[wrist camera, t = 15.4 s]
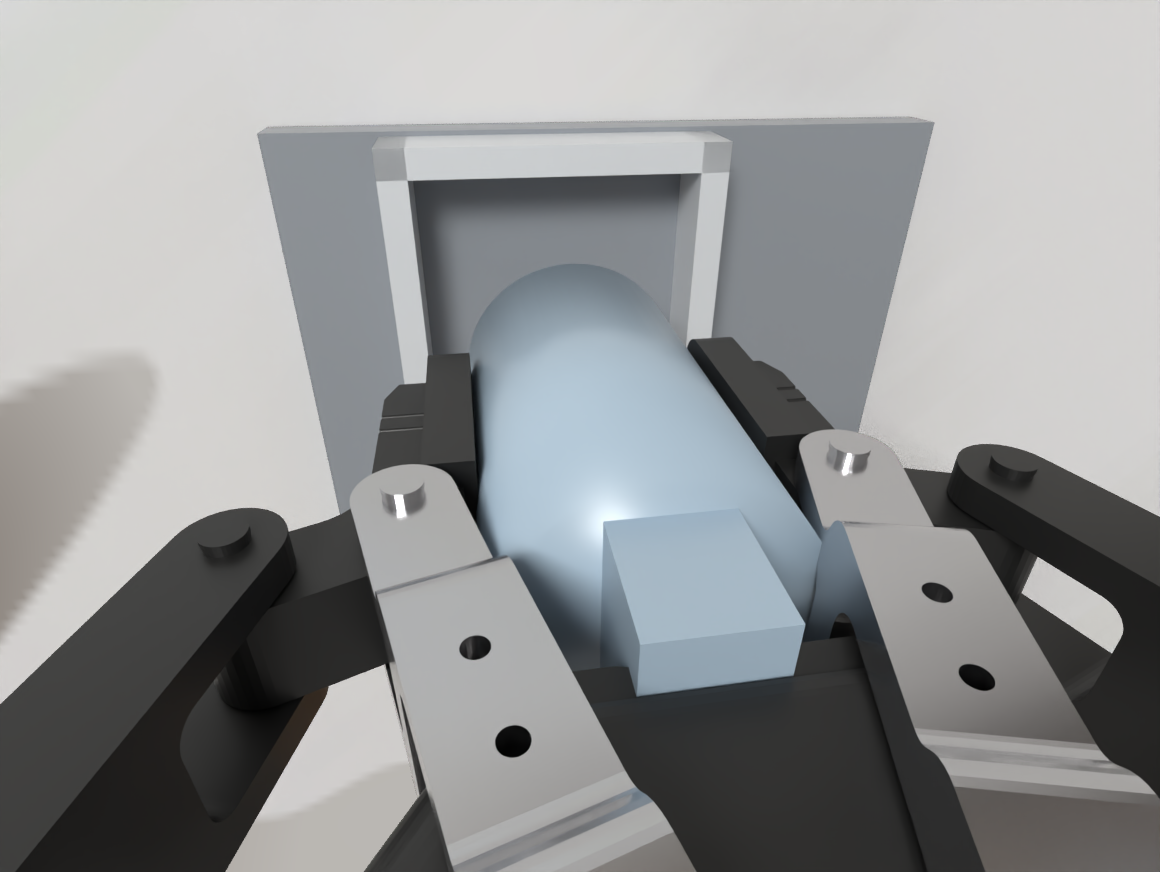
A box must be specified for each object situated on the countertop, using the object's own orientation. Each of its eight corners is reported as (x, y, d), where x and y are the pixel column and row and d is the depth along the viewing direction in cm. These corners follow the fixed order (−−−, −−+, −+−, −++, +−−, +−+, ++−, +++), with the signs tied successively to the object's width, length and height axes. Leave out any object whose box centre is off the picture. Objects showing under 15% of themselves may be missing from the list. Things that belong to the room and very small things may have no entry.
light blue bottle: (676, 258, 13) (962, 570, 6) (663, 441, 15) (860, 840, 8) (459, 268, 12) (471, 627, 5) (476, 457, 15) (502, 901, 7)
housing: (910, 116, 17) (975, 131, 15) (810, 555, 24) (843, 606, 22) (268, 126, 15) (237, 145, 13) (367, 601, 22) (358, 662, 20)
